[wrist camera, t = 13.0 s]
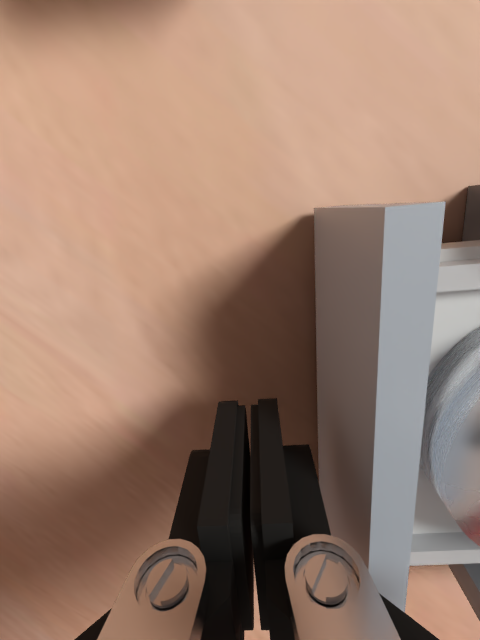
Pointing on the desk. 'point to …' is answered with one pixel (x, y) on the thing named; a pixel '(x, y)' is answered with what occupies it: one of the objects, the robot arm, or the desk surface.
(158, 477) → the desk surface
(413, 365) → the grey drawer
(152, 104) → the desk surface
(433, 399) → the disc
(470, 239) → the dark grey drawer housing
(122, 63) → the desk surface
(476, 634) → the desk surface
